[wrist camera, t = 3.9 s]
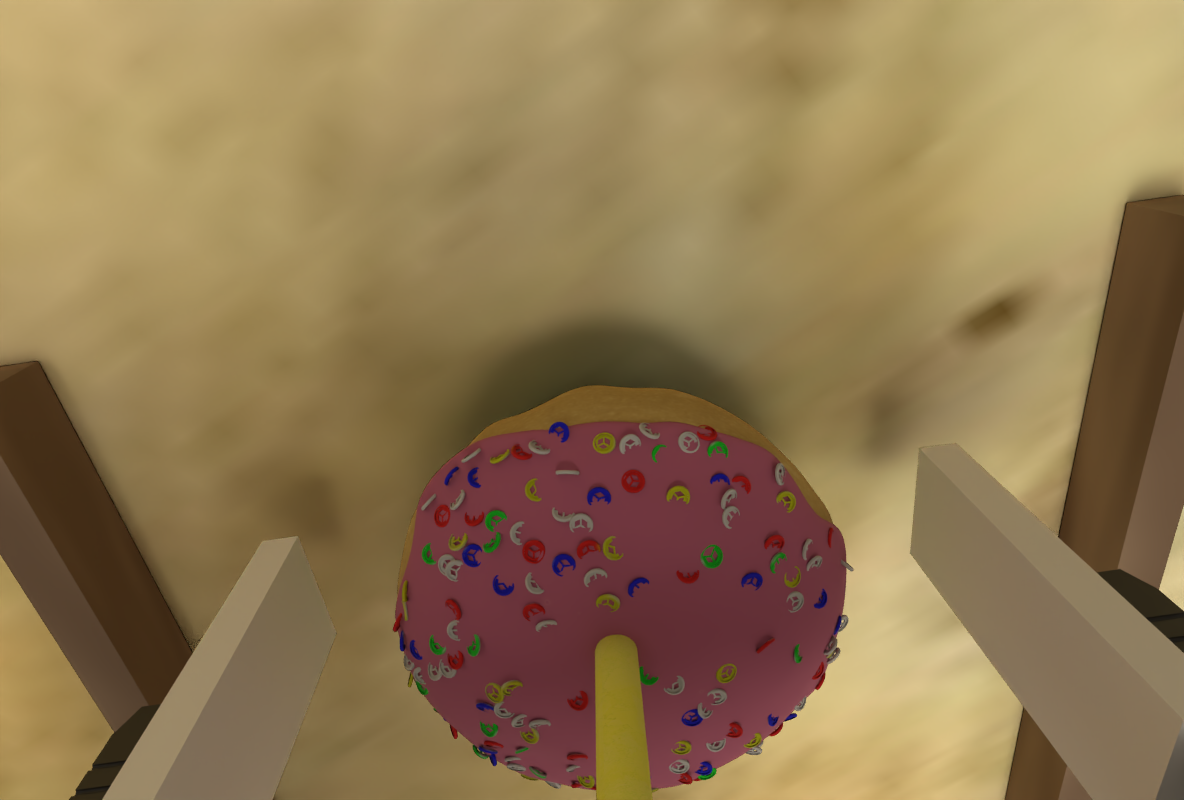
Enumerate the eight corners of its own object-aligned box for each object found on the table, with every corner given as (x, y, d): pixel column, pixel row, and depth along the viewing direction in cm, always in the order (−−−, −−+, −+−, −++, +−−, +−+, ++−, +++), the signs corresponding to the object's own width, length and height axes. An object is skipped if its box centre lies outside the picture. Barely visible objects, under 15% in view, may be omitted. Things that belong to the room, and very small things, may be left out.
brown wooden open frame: (333, 983, 26) (289, 1170, 22) (-16, 369, 15) (-258, 495, 11) (1017, 891, 26) (1114, 1063, 22) (1182, 195, 15) (1457, 249, 10)
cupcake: (372, 378, 16) (-25, 1058, 5) (731, 260, 15) (1199, 755, 4) (508, 641, 19) (451, 1361, 9) (802, 557, 19) (1148, 1231, 8)
